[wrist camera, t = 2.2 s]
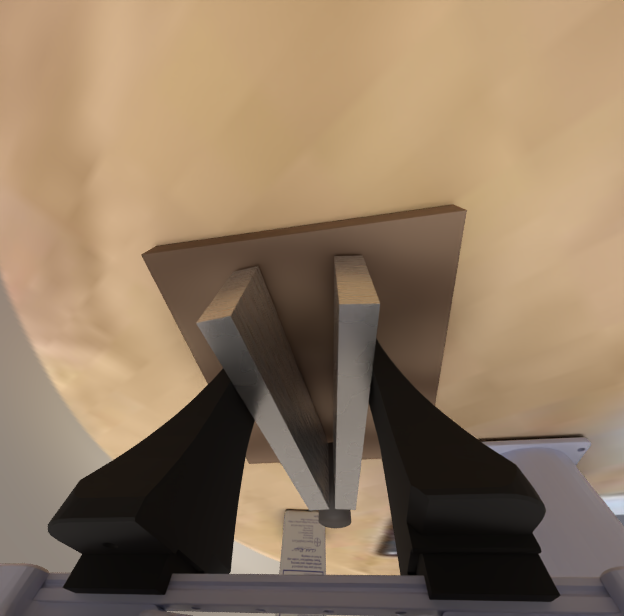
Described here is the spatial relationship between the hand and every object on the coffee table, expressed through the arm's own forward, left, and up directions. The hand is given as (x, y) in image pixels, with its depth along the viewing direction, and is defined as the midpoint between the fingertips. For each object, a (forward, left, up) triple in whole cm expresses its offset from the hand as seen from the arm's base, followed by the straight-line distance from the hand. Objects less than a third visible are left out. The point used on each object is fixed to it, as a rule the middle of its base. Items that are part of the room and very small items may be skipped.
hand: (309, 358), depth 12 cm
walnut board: (-4, 0, -3) cm, 5 cm away
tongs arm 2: (-3, -2, -2) cm, 3 cm away
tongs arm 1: (-3, +2, -2) cm, 3 cm away
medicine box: (-29, +5, -3) cm, 29 cm away
